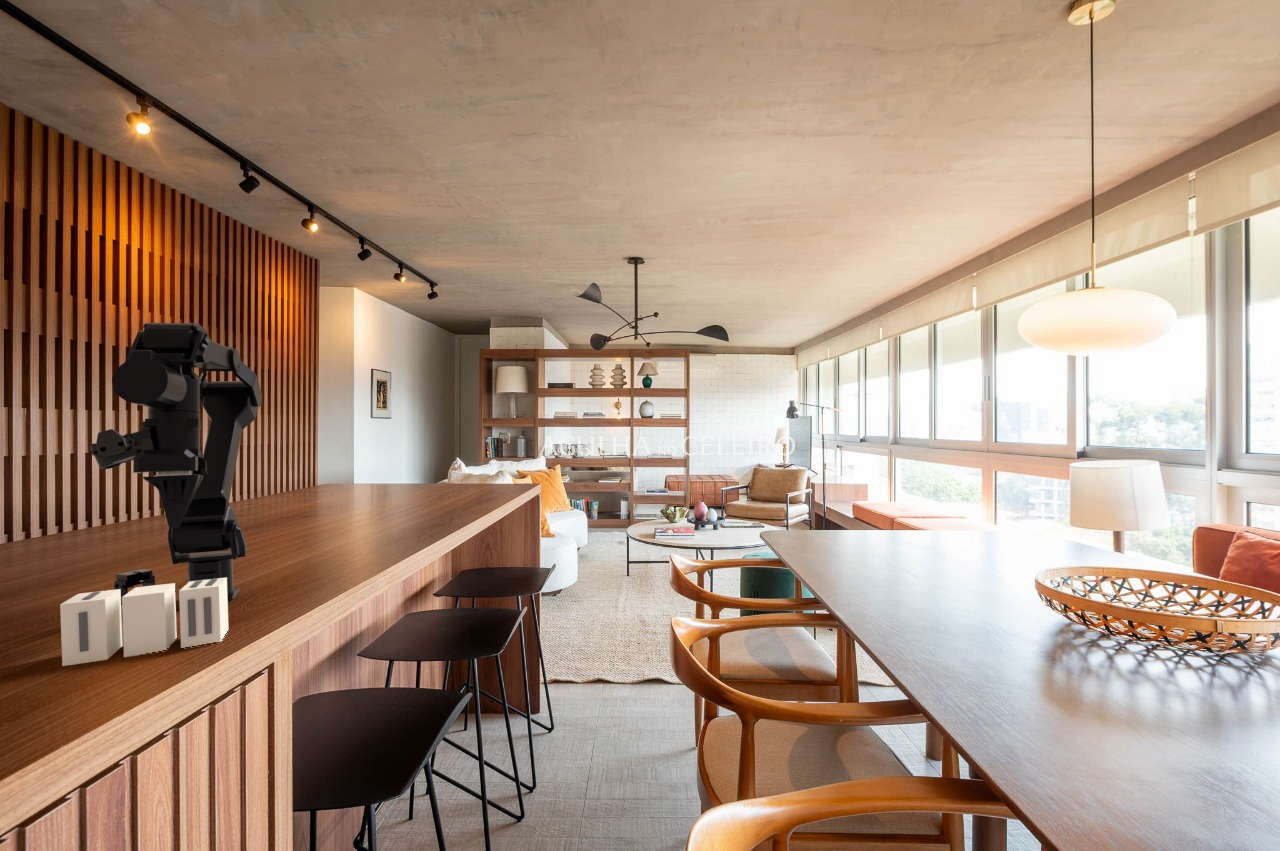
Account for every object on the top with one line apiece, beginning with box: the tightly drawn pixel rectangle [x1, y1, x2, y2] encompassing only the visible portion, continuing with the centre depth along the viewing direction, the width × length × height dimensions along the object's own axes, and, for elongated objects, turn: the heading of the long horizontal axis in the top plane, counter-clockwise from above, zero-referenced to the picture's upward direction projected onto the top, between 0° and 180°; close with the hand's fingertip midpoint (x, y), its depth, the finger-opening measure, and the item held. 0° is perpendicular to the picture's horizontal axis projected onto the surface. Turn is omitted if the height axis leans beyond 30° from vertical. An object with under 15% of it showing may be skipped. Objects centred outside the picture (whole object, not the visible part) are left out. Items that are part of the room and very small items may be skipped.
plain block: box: [121, 582, 178, 658], centre depth 75 cm, size 5×4×7 cm
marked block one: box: [59, 589, 123, 667], centre depth 73 cm, size 5×4×7 cm
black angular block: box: [113, 568, 156, 603], centre depth 99 cm, size 12×7×5 cm, turn 157°
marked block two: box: [178, 577, 230, 649], centre depth 77 cm, size 5×4×7 cm
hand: (174, 527), depth 84 cm, fingers closed
